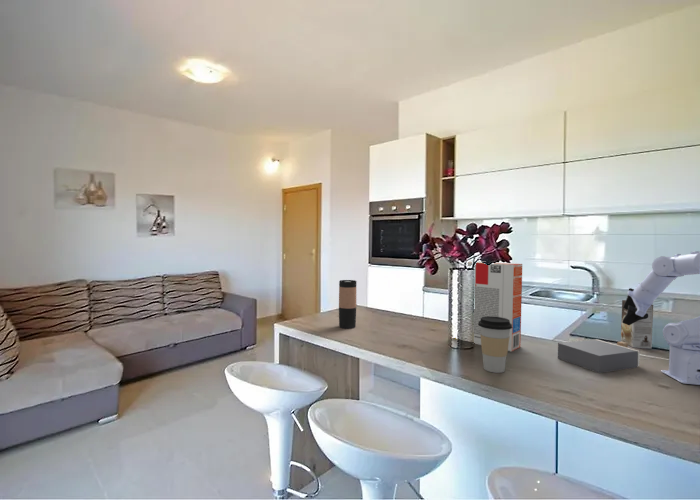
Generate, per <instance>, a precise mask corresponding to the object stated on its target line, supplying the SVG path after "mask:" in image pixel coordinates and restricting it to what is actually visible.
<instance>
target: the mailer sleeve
mask: <svg viewBox="0 0 700 500" xmlns="http://www.w3.org/2000/svg"><path fill="white" fill-rule="evenodd" d="M595 339H596V338H592V339H584V340H582V339H581V340H574V341H573V340H572V341H564V342H558V343H557V359H558V360H562V361H565V362H567V363H570V364H573V365H575V366H579V367H581V368H584V369H587V370H590V371H593V372H595V373H598V374H601V373H602V374H603V373H606V372H607V373H608V372H613V371H621V370H627V369H636V368H638V366H637V357H638V351H639V350H637V351H635V350H636V349H634V350H632V349H633V348H630V349H628V348H629V347H628V348H624V347H621V346H617V344H615V345H614V343H612V344H610V343H611V342H608V343H606V341H604V340H601V341H599V340H600V339H597V340H595ZM603 341H604V342H603Z"/></svg>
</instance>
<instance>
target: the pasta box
mask: <svg viewBox="0 0 700 500" xmlns="http://www.w3.org/2000/svg"><path fill="white" fill-rule="evenodd" d="M469 261H470V262H468V266H471V265H472V262H471V261H472V260H469ZM482 262H483V261H478V262H477V263H476V265H475V309H474V343H475V345H479V346H481V335H480V334H481V328H480V326H479V325H478V323H479V321H481V318H482V317H487V316H492V317H502V318H506V319H509V320H510V323H511V324H512V329H510V333H509V345H508V352H514V351H515V350H518V349H520V348H521V334H522V333H521V332H522V331H521V330H522V299H523V298H522V297H523V296H522V292H523V291H522V290H523V263H517V262H516V263H515V262H497V263H494V264H491V265H486V264H484V263H482ZM474 343H473V344H474Z"/></svg>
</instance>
